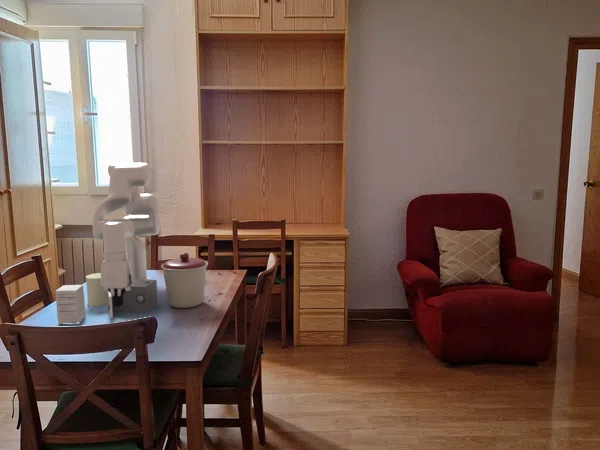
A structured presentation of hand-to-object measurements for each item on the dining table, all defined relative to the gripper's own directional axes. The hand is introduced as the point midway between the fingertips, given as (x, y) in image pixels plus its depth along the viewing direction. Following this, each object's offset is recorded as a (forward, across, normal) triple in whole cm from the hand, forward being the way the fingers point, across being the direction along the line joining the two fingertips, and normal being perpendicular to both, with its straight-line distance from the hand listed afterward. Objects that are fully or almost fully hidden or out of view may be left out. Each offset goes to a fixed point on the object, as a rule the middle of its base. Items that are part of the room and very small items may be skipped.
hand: (118, 305), depth 175 cm
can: (+5, -18, +17) cm, 25 cm away
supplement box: (+5, -16, -4) cm, 17 cm away
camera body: (+5, -1, +14) cm, 15 cm away
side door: (+5, -6, +4) cm, 8 cm away
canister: (+5, +18, +20) cm, 27 cm away
